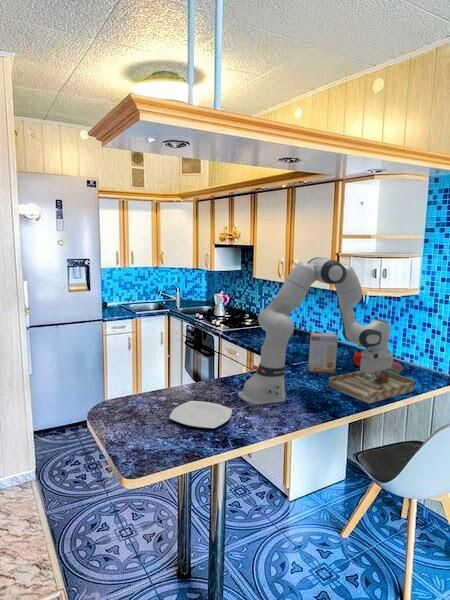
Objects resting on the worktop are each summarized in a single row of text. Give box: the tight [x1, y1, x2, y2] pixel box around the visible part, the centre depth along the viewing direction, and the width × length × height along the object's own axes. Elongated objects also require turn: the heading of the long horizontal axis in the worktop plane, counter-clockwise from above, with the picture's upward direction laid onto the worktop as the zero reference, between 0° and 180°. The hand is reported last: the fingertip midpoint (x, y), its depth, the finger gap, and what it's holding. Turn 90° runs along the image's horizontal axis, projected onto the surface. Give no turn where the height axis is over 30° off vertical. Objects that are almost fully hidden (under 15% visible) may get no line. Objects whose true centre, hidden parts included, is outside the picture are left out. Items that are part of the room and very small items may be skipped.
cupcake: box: [387, 353, 404, 375], centre depth 229 cm, size 9×8×12 cm
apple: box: [353, 351, 363, 368], centre depth 242 cm, size 9×9×8 cm
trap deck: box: [327, 369, 416, 405], centre depth 206 cm, size 34×24×6 cm
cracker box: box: [307, 332, 339, 374], centre depth 229 cm, size 14×6×21 cm, turn 84°
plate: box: [168, 400, 233, 430], centre depth 166 cm, size 23×23×2 cm
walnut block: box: [374, 370, 390, 383], centre depth 210 cm, size 5×5×5 cm
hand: (375, 379), depth 207 cm, fingers closed
